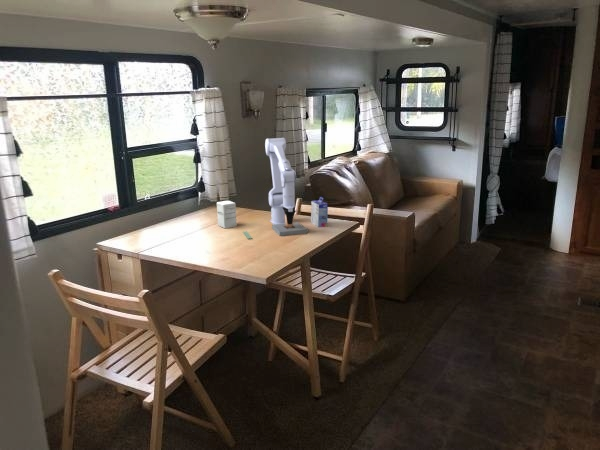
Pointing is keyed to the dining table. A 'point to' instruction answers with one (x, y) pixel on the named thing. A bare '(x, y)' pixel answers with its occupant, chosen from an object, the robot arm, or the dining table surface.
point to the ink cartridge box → (319, 213)
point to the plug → (288, 224)
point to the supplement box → (226, 214)
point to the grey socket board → (289, 229)
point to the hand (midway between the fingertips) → (289, 222)
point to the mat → (247, 235)
